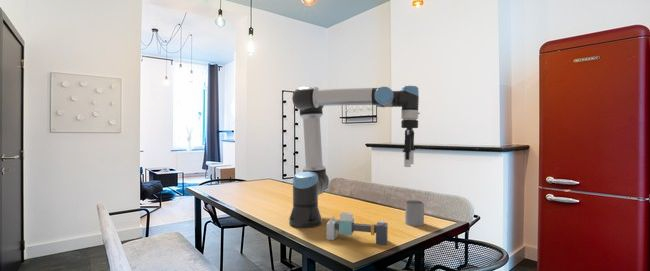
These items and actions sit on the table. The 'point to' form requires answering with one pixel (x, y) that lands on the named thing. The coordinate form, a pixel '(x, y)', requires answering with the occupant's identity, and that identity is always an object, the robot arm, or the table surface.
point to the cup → (414, 213)
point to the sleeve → (346, 223)
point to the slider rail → (361, 230)
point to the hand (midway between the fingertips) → (409, 165)
